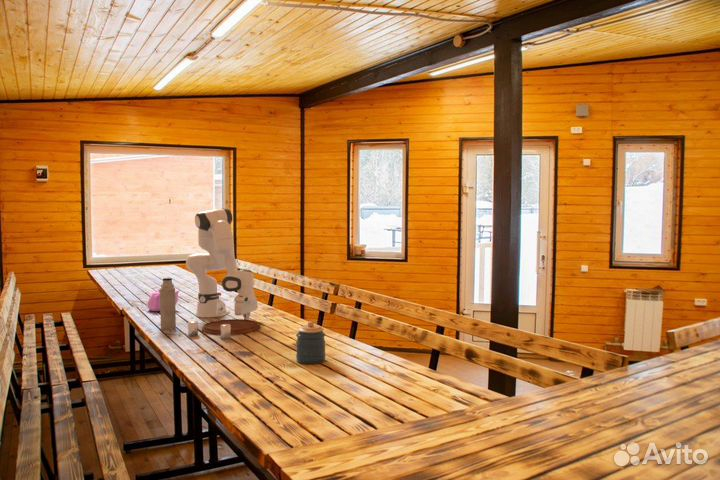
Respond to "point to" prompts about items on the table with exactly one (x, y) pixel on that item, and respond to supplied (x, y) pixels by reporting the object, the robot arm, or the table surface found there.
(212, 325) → the cutting board
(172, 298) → the thermos bottle
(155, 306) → the teapot
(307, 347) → the canister
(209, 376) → the table surface
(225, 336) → the bench dogs
